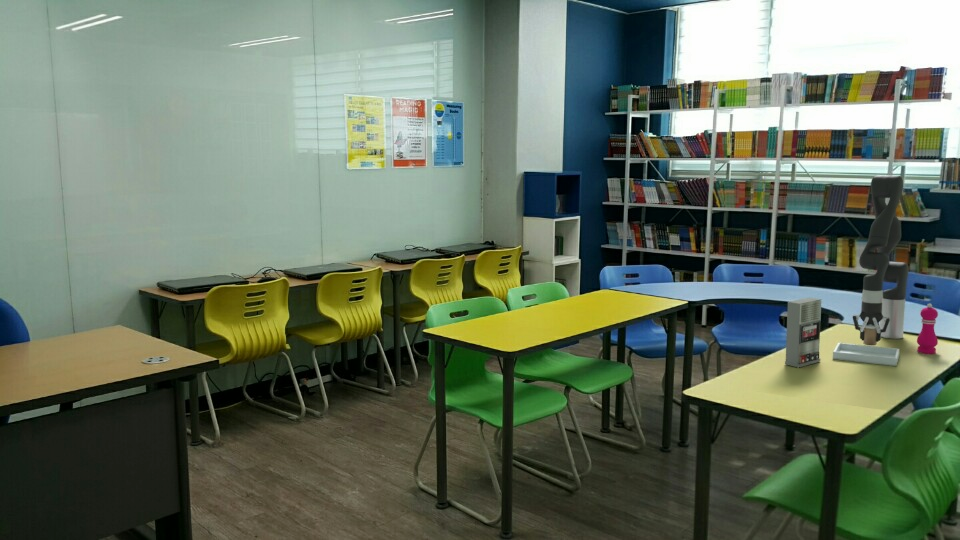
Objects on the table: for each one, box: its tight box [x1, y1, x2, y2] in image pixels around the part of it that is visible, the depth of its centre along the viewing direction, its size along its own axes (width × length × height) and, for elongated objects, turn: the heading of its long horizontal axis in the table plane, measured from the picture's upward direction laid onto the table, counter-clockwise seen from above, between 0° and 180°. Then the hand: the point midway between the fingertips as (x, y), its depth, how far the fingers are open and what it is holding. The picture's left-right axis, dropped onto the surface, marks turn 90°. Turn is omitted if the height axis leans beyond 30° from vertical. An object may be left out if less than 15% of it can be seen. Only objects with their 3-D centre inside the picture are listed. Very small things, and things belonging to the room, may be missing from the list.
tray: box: [832, 342, 900, 367], centre depth 287 cm, size 16×22×3 cm
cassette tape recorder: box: [784, 297, 822, 369], centre depth 279 cm, size 14×6×25 cm, turn 122°
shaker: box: [862, 325, 878, 346], centre depth 298 cm, size 5×5×8 cm
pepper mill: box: [916, 303, 939, 355], centre depth 291 cm, size 7×7×20 cm
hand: (869, 340), depth 298 cm, fingers closed on shaker, 4 cm apart
